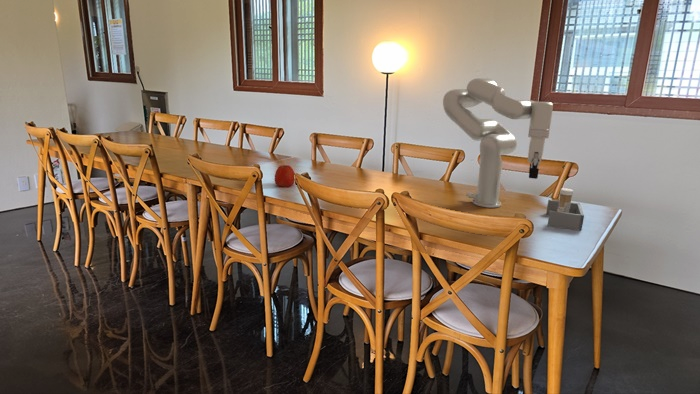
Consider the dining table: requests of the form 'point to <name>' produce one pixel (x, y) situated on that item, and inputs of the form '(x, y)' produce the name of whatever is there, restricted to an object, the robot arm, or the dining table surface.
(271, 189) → the dining table surface
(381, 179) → the dining table surface
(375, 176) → the dining table surface
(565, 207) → the sprinkles bottle
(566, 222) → the open-side box
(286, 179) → the apple
